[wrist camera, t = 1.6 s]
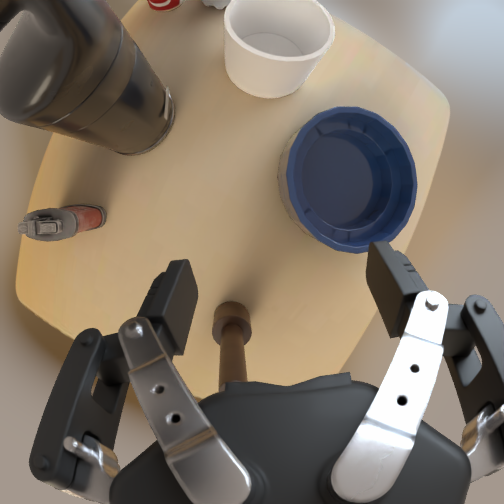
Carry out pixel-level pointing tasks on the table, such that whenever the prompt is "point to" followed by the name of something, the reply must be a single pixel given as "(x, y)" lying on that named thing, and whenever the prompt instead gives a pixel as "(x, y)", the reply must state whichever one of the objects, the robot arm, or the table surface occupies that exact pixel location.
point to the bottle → (217, 3)
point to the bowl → (348, 179)
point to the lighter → (62, 222)
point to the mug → (274, 44)
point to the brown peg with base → (231, 341)
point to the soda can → (164, 5)
